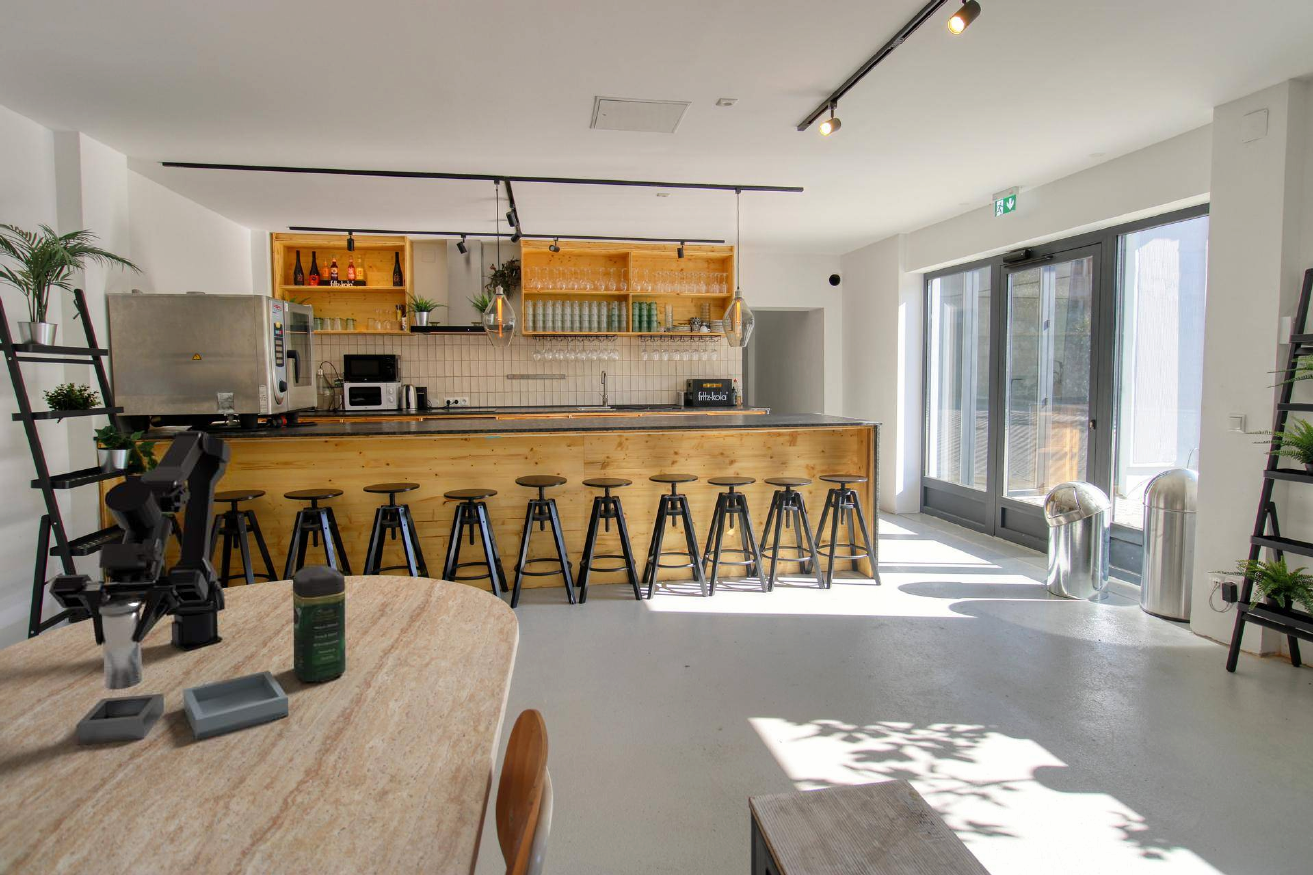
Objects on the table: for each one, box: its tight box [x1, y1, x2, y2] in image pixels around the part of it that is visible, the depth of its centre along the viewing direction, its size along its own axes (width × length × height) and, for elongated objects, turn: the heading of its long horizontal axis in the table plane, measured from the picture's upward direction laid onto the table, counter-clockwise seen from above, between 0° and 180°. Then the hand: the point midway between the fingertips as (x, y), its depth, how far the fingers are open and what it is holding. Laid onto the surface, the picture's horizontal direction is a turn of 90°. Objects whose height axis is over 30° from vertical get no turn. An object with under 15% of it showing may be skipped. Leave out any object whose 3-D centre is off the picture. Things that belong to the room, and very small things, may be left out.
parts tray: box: [182, 670, 289, 741], centre depth 113 cm, size 12×12×3 cm
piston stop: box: [99, 596, 143, 691], centre depth 106 cm, size 5×5×12 cm
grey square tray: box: [76, 693, 165, 746], centre depth 107 cm, size 8×8×3 cm
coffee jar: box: [292, 564, 347, 682], centre depth 127 cm, size 10×8×19 cm
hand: (118, 642), depth 105 cm, fingers closed on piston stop, 4 cm apart
